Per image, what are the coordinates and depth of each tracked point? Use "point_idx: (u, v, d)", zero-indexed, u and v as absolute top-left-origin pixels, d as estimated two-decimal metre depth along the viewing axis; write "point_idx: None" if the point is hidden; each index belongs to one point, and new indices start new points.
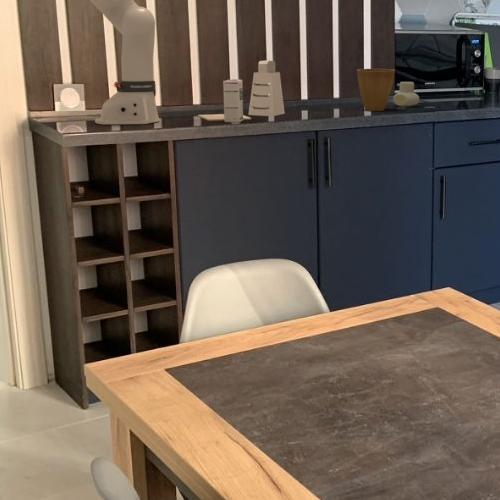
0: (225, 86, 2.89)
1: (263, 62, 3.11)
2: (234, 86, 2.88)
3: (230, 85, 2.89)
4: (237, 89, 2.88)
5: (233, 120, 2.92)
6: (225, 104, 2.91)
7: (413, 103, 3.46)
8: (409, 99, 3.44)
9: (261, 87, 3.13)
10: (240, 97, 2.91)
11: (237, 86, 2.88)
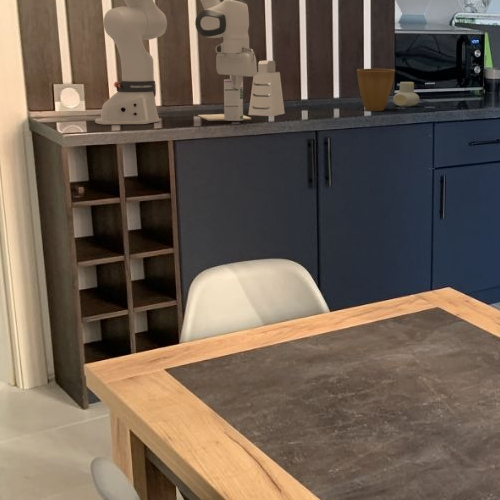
0: (226, 84, 2.90)
1: (263, 62, 3.11)
2: None
3: (231, 83, 2.90)
4: None
5: (233, 118, 2.91)
6: (225, 102, 2.91)
7: (413, 103, 3.46)
8: (409, 99, 3.44)
9: (261, 87, 3.13)
10: (240, 96, 2.91)
11: None
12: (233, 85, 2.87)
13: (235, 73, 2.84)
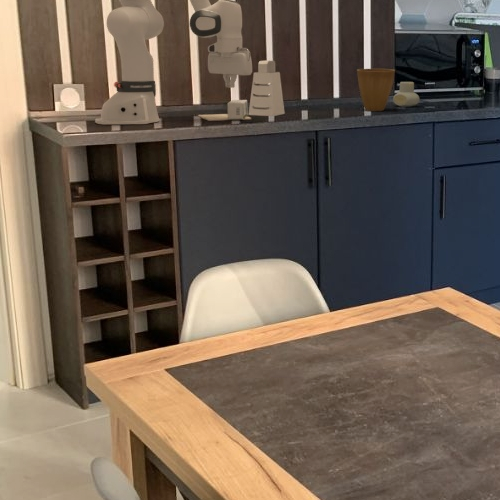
0: (233, 100, 3.08)
1: (263, 62, 3.11)
2: (242, 100, 3.07)
3: (238, 100, 3.08)
4: (244, 100, 3.06)
5: (236, 102, 2.96)
6: (231, 101, 3.02)
7: (413, 103, 3.46)
8: (409, 99, 3.44)
9: (261, 87, 3.13)
10: (245, 105, 3.04)
11: (245, 100, 3.07)
12: (226, 84, 2.95)
13: (230, 72, 2.91)
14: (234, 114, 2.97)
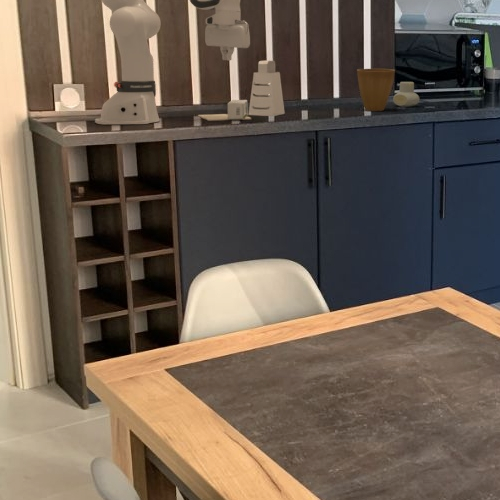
0: (233, 100, 3.08)
1: (263, 62, 3.11)
2: (242, 100, 3.07)
3: (238, 100, 3.08)
4: (244, 100, 3.06)
5: (236, 102, 2.96)
6: (231, 101, 3.02)
7: (413, 103, 3.46)
8: (409, 99, 3.44)
9: (261, 87, 3.13)
10: (245, 105, 3.04)
11: (245, 100, 3.07)
12: (223, 56, 2.95)
13: (227, 44, 2.92)
14: (234, 114, 2.97)
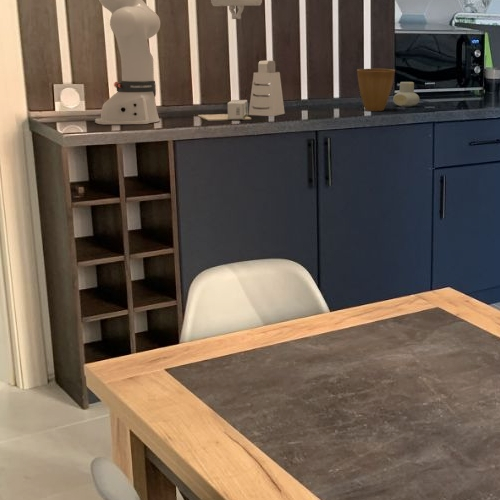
0: (233, 100, 3.08)
1: (263, 62, 3.11)
2: (242, 100, 3.07)
3: (238, 100, 3.08)
4: (244, 100, 3.06)
5: (236, 102, 2.96)
6: (231, 101, 3.02)
7: (413, 103, 3.46)
8: (409, 99, 3.44)
9: (261, 87, 3.13)
10: (245, 105, 3.04)
11: (245, 100, 3.07)
12: (233, 15, 3.02)
13: (238, 3, 2.99)
14: (234, 114, 2.97)
